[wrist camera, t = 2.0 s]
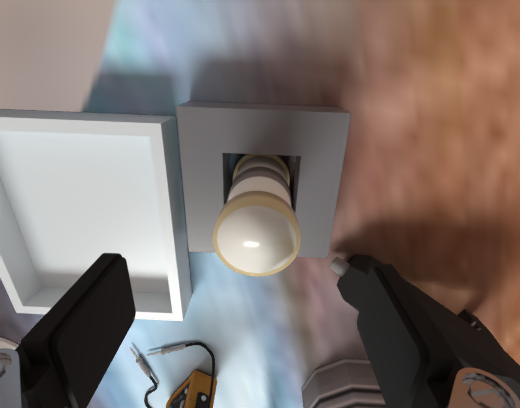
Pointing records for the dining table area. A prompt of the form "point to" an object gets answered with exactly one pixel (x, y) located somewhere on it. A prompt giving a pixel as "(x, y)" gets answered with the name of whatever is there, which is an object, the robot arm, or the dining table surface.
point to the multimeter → (187, 383)
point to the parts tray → (92, 207)
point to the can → (343, 386)
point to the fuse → (258, 218)
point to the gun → (439, 323)
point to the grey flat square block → (267, 143)
